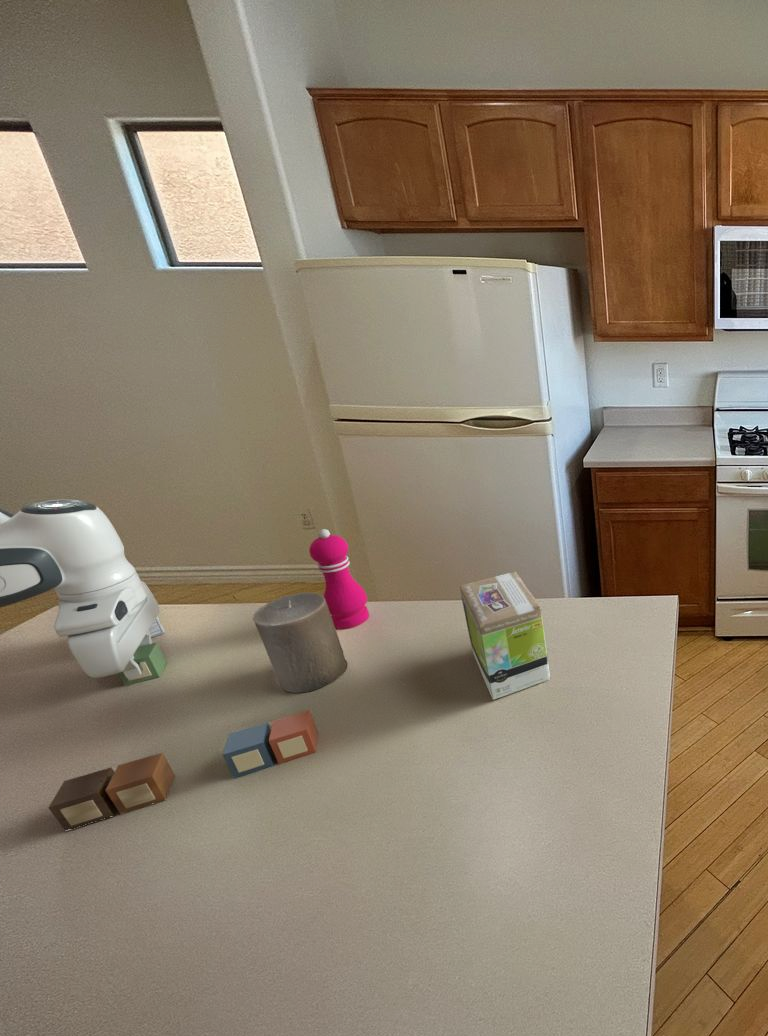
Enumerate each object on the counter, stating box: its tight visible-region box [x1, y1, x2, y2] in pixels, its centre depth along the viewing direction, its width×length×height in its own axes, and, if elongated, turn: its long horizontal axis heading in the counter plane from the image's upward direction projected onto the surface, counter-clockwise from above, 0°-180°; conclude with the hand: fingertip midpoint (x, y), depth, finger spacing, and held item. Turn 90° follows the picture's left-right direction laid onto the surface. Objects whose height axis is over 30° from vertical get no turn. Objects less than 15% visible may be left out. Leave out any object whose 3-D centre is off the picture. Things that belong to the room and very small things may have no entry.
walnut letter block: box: [48, 766, 118, 831], centre depth 70 cm, size 4×5×4 cm
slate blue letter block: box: [222, 722, 276, 779], centre depth 77 cm, size 4×5×4 cm
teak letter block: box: [105, 752, 176, 815], centre depth 72 cm, size 4×5×4 cm
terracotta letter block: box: [269, 709, 319, 764], centre depth 80 cm, size 4×5×4 cm
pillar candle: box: [252, 591, 348, 694], centre depth 92 cm, size 10×10×15 cm
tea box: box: [459, 571, 551, 701], centre depth 95 cm, size 15×10×15 cm
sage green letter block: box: [117, 642, 168, 686], centre depth 94 cm, size 4×5×4 cm
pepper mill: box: [308, 528, 370, 630], centre depth 106 cm, size 7×7×20 cm
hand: (141, 665), depth 94 cm, fingers closed on sage green letter block, 4 cm apart
